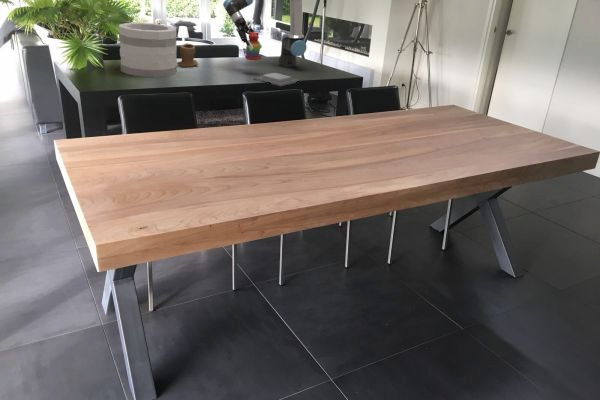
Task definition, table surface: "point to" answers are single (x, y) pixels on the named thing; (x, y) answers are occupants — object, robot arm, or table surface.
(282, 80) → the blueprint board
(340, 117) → the table surface
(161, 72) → the storage basket
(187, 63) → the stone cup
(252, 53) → the stacking bear
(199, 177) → the table surface
